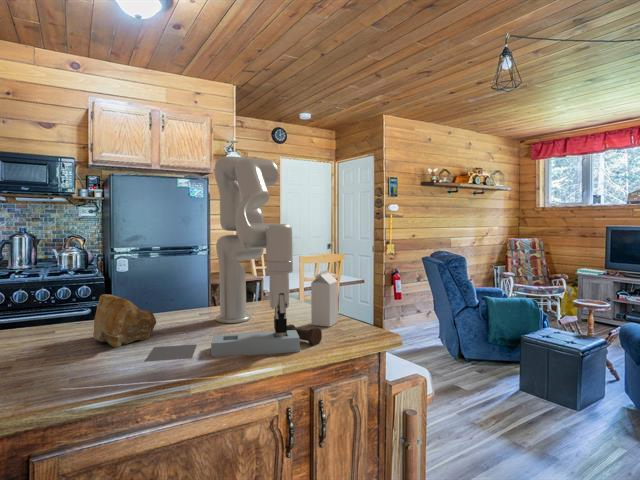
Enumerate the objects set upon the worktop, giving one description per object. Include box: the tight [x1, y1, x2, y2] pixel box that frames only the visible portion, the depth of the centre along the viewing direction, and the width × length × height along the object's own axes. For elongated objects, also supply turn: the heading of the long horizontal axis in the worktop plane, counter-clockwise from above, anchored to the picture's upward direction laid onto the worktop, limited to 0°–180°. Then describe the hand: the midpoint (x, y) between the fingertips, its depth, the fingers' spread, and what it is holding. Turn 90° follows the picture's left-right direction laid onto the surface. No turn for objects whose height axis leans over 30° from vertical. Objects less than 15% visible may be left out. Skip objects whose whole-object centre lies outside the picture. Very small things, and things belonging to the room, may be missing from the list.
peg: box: [274, 306, 286, 337], centre depth 115 cm, size 3×3×10 cm
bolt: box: [287, 323, 323, 347], centre depth 123 cm, size 6×5×15 cm
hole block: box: [210, 330, 301, 358], centre depth 114 cm, size 24×8×4 cm, turn 101°
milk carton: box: [310, 269, 339, 328], centre depth 142 cm, size 7×7×19 cm
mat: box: [144, 344, 198, 363], centre depth 112 cm, size 12×12×1 cm
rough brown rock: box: [92, 293, 157, 349], centre depth 124 cm, size 23×17×15 cm
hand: (280, 330), depth 115 cm, fingers closed on peg, 3 cm apart
